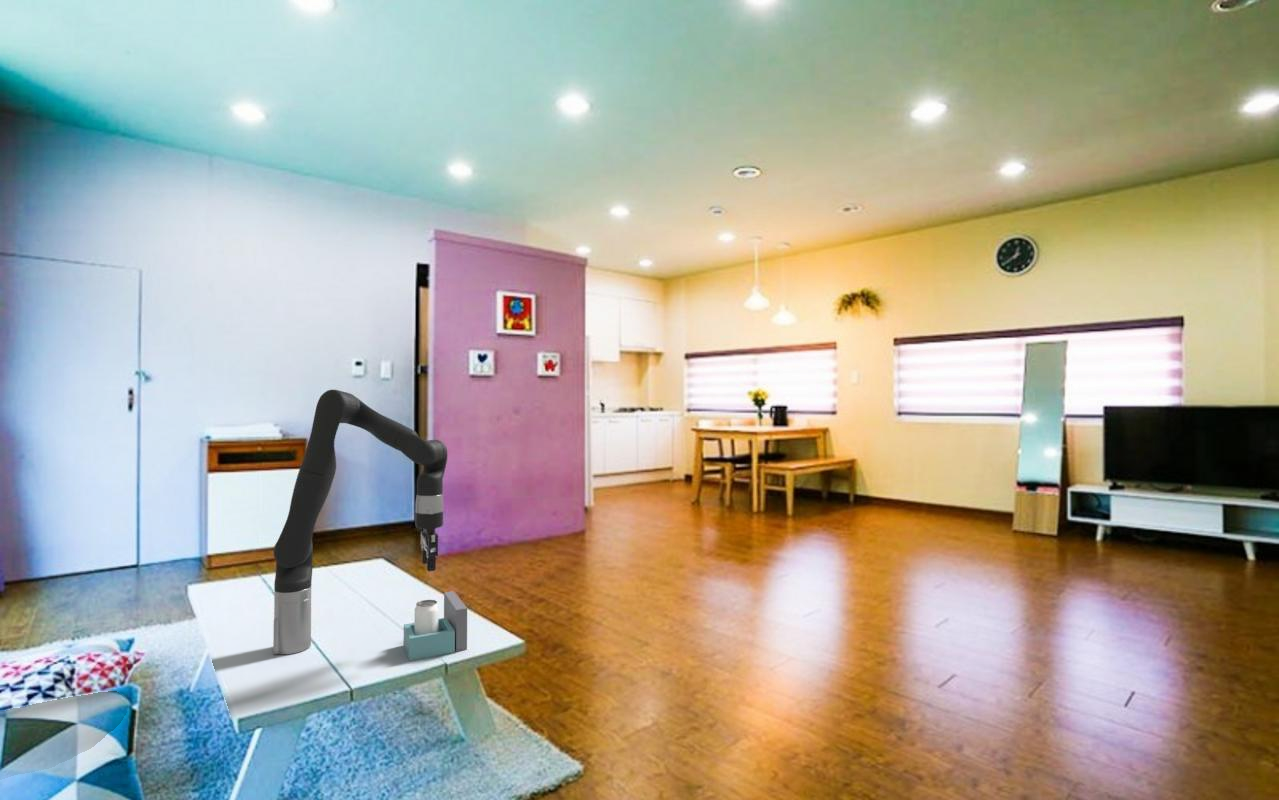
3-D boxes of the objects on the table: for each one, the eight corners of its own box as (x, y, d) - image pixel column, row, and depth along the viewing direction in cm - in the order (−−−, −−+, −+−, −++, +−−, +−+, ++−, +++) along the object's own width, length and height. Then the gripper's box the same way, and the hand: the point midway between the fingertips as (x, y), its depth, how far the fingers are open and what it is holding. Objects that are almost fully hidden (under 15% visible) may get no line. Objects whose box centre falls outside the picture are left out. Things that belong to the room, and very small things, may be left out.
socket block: (409, 660, 166) (409, 638, 166) (403, 645, 176) (403, 624, 176) (454, 652, 171) (454, 631, 171) (446, 637, 182) (446, 617, 182)
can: (442, 644, 174) (442, 602, 174) (421, 651, 170) (422, 608, 170) (430, 638, 179) (431, 597, 179) (409, 645, 174) (410, 603, 174)
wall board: (456, 652, 172) (456, 609, 172) (443, 631, 188) (444, 592, 188) (466, 650, 174) (467, 608, 174) (453, 629, 189) (454, 590, 189)
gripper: (411, 507, 178) (411, 562, 178) (419, 515, 166) (418, 574, 166) (438, 505, 182) (437, 559, 182) (447, 513, 169) (447, 571, 169)
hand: (428, 567), depth 174 cm, fingers open, 8 cm apart
